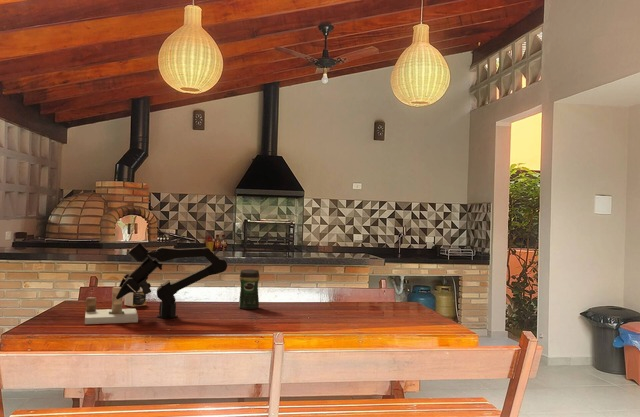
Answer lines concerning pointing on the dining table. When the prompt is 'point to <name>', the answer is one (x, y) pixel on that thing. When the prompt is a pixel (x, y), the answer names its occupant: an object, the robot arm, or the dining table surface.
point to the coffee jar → (249, 289)
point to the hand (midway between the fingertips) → (116, 296)
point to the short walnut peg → (91, 304)
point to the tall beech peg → (116, 301)
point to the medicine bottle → (135, 298)
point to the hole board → (111, 316)
